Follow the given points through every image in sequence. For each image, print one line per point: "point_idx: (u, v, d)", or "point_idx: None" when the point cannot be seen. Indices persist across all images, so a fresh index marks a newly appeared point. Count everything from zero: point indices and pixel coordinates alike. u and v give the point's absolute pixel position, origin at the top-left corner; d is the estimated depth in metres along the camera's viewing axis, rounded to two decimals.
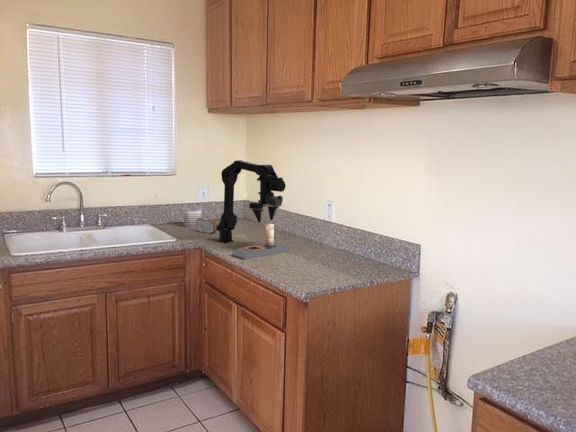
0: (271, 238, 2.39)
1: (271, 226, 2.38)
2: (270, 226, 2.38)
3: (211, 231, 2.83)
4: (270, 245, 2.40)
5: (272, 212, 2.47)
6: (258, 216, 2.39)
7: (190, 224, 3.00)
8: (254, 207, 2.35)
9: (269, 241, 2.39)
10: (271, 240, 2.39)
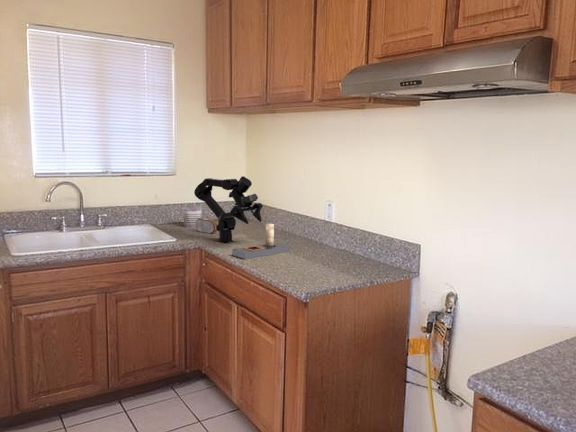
0: (271, 238, 2.39)
1: (271, 226, 2.38)
2: (270, 226, 2.38)
3: (211, 231, 2.83)
4: (270, 245, 2.40)
5: (257, 214, 2.51)
6: (243, 218, 2.43)
7: (190, 224, 3.00)
8: (234, 210, 2.42)
9: (269, 241, 2.39)
10: (271, 240, 2.39)
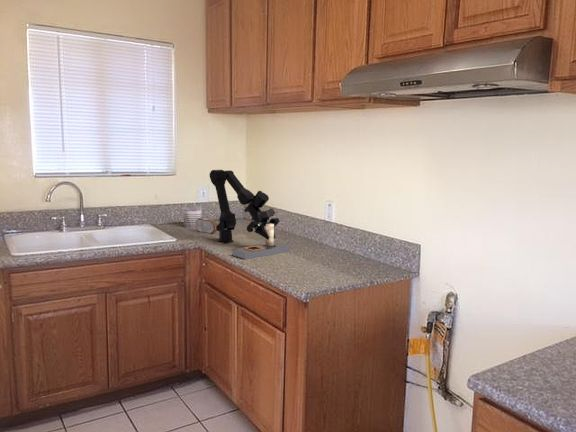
0: (271, 238, 2.39)
1: (271, 226, 2.38)
2: (270, 226, 2.38)
3: (211, 231, 2.83)
4: (270, 245, 2.40)
5: None
6: (264, 233, 2.38)
7: (190, 224, 3.00)
8: (251, 226, 2.35)
9: (269, 241, 2.39)
10: (271, 240, 2.39)
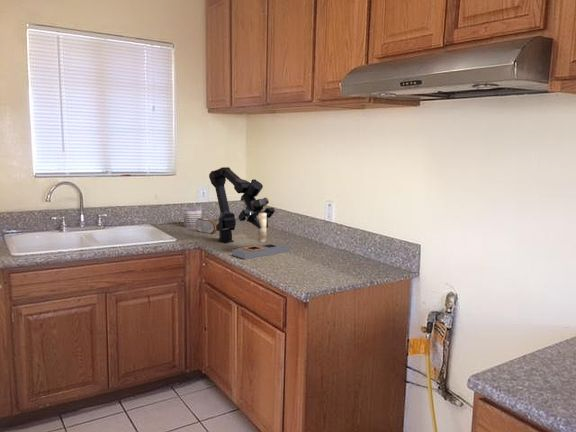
0: (263, 228, 2.34)
1: (263, 215, 2.33)
2: (262, 215, 2.33)
3: (211, 231, 2.83)
4: (262, 235, 2.35)
5: None
6: (256, 223, 2.34)
7: (190, 224, 3.00)
8: (242, 215, 2.32)
9: (261, 231, 2.35)
10: (263, 229, 2.35)
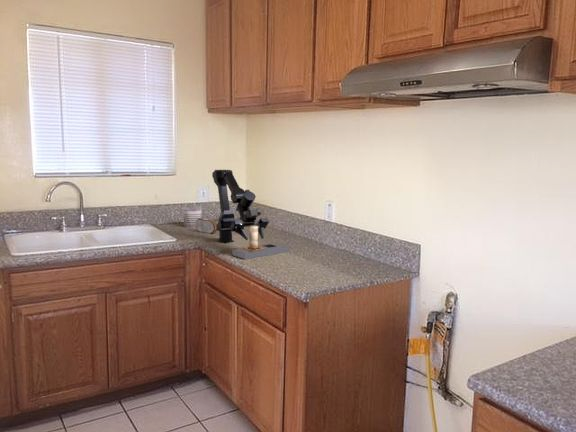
0: (254, 241, 2.32)
1: (254, 228, 2.31)
2: (253, 228, 2.31)
3: (211, 231, 2.83)
4: (253, 248, 2.33)
5: (260, 230, 2.37)
6: (243, 234, 2.31)
7: (190, 224, 3.00)
8: (232, 225, 2.31)
9: (252, 244, 2.33)
10: (254, 243, 2.33)
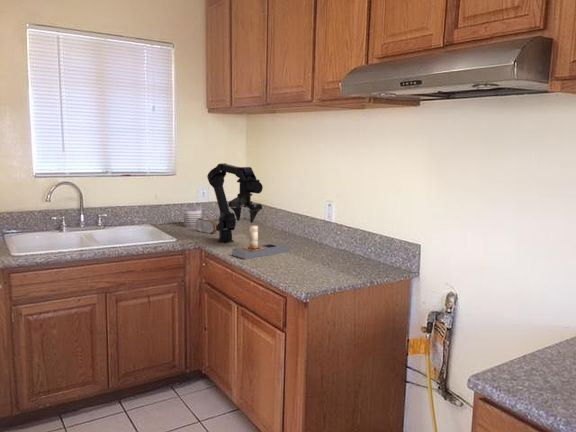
0: (254, 241, 2.32)
1: (254, 228, 2.31)
2: (253, 228, 2.31)
3: (211, 231, 2.83)
4: (253, 248, 2.33)
5: None
6: None
7: (190, 224, 3.00)
8: None
9: (252, 244, 2.33)
10: (254, 243, 2.33)
